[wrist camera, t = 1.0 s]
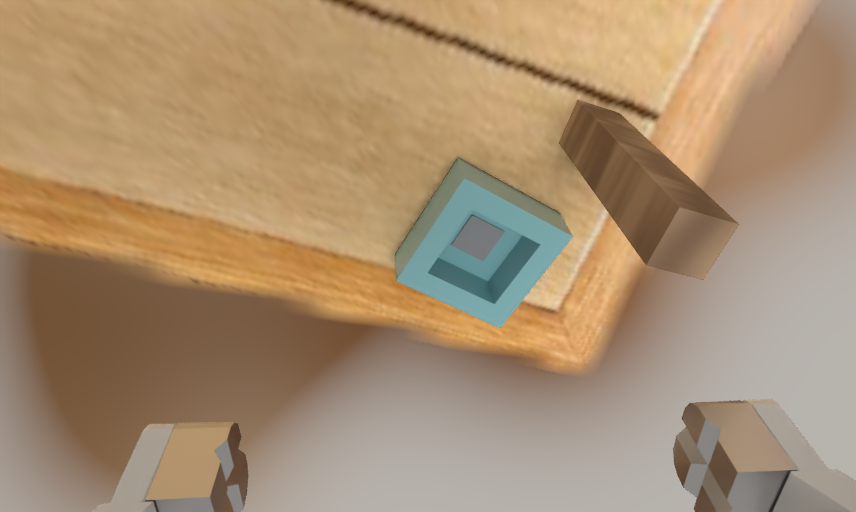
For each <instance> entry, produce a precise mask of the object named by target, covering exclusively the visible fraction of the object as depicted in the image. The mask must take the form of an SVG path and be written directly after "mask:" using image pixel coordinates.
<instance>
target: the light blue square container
mask: <svg viewBox="0 0 856 512" xmlns="http://www.w3.org/2000/svg"><path fill="white" fill-rule="evenodd" d="M572 237H573V236H572V234H571V232H570V230H569V229H568V227H567V225H566V223H565V221H564V220H563V218H562V216H561V214H560V213H559V212H557V211H555V210H553V209H552V208H550V207H548V206H546V205H544V204H542V203H541V202H539V201H537V200H535V199H533V198H531V197H530V196H528V195H526V194H524V193H522V192H520V191H519V190H517V189H515V188H513V187H511V186H510V185H508V184H506V183H504V182H502V181H500V180H499V179H497V178H495V177H493V176H491V175H489V174H488V173H486V172H484V171H482V170H480V169H478V168H477V167H475V166H473V165H471V164H469V163H468V162H466V161H464V160H462V159H460V158H457V160H456V161H455V163H454V164H453V166H452V167H451V169H450V171H449V172H448V174H447V175H446V177H445V178H444V180H443V181H442V183H441V184H440V186H439V187H438V189H437V191H436V192H435V194H434V195H433V197H432V198H431V200H430V201H429V203H428V204H427V206H426V208H425V209H424V211H423V212H422V214H421V215H420V217H419V218H418V220H417V221H416V223H415V224H414V226H413V228H412V229H411V231H410V232H409V234H408V235H407V237H406V238H405V240H404V241H403V243H402V245H401V246H400V248H399V249H398V251H397V252H396V254H395V270H396V281H397V282H400V283H402V284H404V285H406V286H408V287H411V288H413V289H415V290H417V291H419V292H422V293H424V294H426V295H428V296H431V297H433V298H435V299H437V300H439V301H442V302H444V303H446V304H448V305H450V306H453V307H455V308H457V309H459V310H461V311H464V312H466V313H468V314H470V315H472V316H475V317H477V318H479V319H481V320H483V321H486V322H488V323H490V324H492V325H494V326H497V327H499V328H501V327H502V325H503V324H504V323H505V321H506V320H507V319H508V318H509V316H510V315H511V314H512V313H513V311H514V310H515V309H516V308H517V306H518V305H519V304H520V303H521V301H522V300H523V299H524V298H525V296H526V295H527V294H528V293H529V291H530V290H531V289H532V288H533V286H534V285H535V284H536V282H537V281H538V280H539V279H540V277H541V276H542V275H543V274H544V272H545V271H546V270H547V269H548V267H549V266H550V265H551V264H552V262H553V261H554V260H555V259H556V257H557V256H558V255H559V254H560V252H561V251H562V250H563V249H564V247H565V246H566V245H567V243H568V242H569V241H570V240H571V238H572Z"/></svg>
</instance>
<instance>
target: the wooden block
mask: <svg viewBox="0 0 856 512" xmlns="http://www.w3.org/2000/svg"><path fill="white" fill-rule="evenodd" d="M559 144H560V145H561V147H562V148H563V149H564V151H565V152H566V154H567V155H568V156H569V158H570V159H571V161H572V162H573V163H574V165H575V166H576V168H577V169H578V170H579V172H580V173H581V175H582V176H583V177H584V179H585V180H586V182H587V183H588V184H589V186H590V187H591V189H592V190H593V191H594V193H595V194H596V196H597V197H598V198H599V200H600V201H601V203H602V204H603V205H604V207H605V208H606V210H607V211H608V212H609V214H610V215H611V217H612V218H613V219H614V221H615V222H616V224H617V225H618V226H619V228H620V229H621V231H622V232H623V233H624V235H625V236H626V238H627V239H628V240H629V242H630V243H631V245H632V246H633V248H634V249H635V250H636V252H637V253H638V255H639V256H640V257H641V259H642V260H643V262H644V263H645V264H646V265H647V266H651V267H655V268H659V269H663V270H666V271H670V272H675V273H678V274H682V275H686V276H689V277H693V278H697V279H701V280H704V278H705V277H706V275H707V274H708V272H709V270H710V269H711V267H712V266H713V264H714V263H715V261H716V260H717V258H718V257H719V255H720V253H721V252H722V250H723V249H724V247H725V246H726V244H727V243H728V241H729V239H730V238H731V236H732V235H733V233H734V232H735V230H736V229H737V227H738V225H739V224H738V223H737V222H736V221H735V220H734V219H733V218H732V217H731V216H730V215H729V214H727V213H726V212H725V211H724V210H723V209H722V208H721V207H720V206H719V205H718V204H717V203H716V202H715V201H714V200H712V199H711V198H710V197H709V196H708V195H707V194H706V193H705V192H704V191H703V190H702V189H701V188H699V187H698V186H697V185H696V184H695V183H694V182H693V181H692V180H691V179H690V178H689V177H688V176H687V175H685V174H684V173H683V172H682V171H681V170H680V169H679V168H678V167H677V166H676V165H675V164H674V163H672V162H671V161H670V160H669V159H668V158H667V157H666V156H665V155H664V154H663V153H662V152H661V151H660V150H658V149H657V148H656V147H655V146H654V145H653V144H652V143H651V142H650V141H649V140H648V139H647V138H646V137H644V136H643V135H642V134H641V133H640V132H639V131H638V130H637V129H636V128H635V127H634V126H633V125H631V124H630V123H629V122H628V121H627V120H626V119H625V118H624V117H623V116H622V115H621V114H620V113H617V112H614V111H611V110H608V109H604V108H601V107H598V106H595V105H592V104H589V103H585V102H582V101H579V100H578V101H577V104H576V106H575V108H574V110H573V112H572V115H571V117H570V119H569V121H568V124H567V126H566V128H565V130H564V133H563V135H562V137H561V139H560V142H559Z"/></svg>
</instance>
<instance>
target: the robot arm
mask: <svg viewBox="0 0 856 512" xmlns="http://www.w3.org/2000/svg"><path fill="white" fill-rule="evenodd" d="M682 420H683V422H684V423H685V425H686V428H685V429H684V430H683V431H681V432H680V433H679V434H678V435H677V436H676V439H675V444H674V448H673V454H674V465H675V468H676V472H677V475H678V477H679V479H680V482H681V484H682V486H683V488H685V489H686V490H687V491H689V492H690V493H692V494H693V495H694V496H695V497H697V499H696V503H695V506H694V510H695V512H856V480H854V479H852V478H851V477H849V476H848V475H846V474H844V473H843V472H841V471H839V470H829V469H828V468H827V466H826V465H825V464H824V462H823V461H822V460H821V459H820V457H819V456H818V454H816V452H815V451H814V449H813V448H812V447H811V446H810V444H809V443H808V442H807V440H806V439H805V437H804V436H803V435H802V434H801V432H800V431H799V430H798V428H797V427H796V426H795V424H794V423H793V422H792V421H791V419H790V418H789V417H788V415H787V414H786V413H785V411H784V410H783V409H782V408H781V406H780V405H779V404H778V403H777V402H775V401H774V400H772V399H760V400H744V401H739V400H738V401H719V402H699V403H689V404H688V405H687V406H686V408H685V410H684V412H683V416H682ZM240 441H241V433H240V429H239V425H238V423H235V422H212V423H178V424H149V425H148V426H147V427H146V428H145V429H144V430H143V431H142V433H141V435H140V438H139V440H138V442H137V444H136V446H135V448H134V451H133V453H132V455H131V457H130V460H129V462H128V464H127V466H126V468H125V470H124V473H123V475H122V477H121V479H120V481H119V484H118V486H117V488H116V490H115V492H114V494H113V497H112V499H111V501H110V503H105V504H100V505H98V506H97V507H96V508H95V509H94V510H92V511H91V512H241V510H242V509H243V508H244V505H245V500H246V496H247V487H248V465H247V460H246V455H245V454H244V453H243V452H242V451H241V450H239V445H240Z"/></svg>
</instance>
